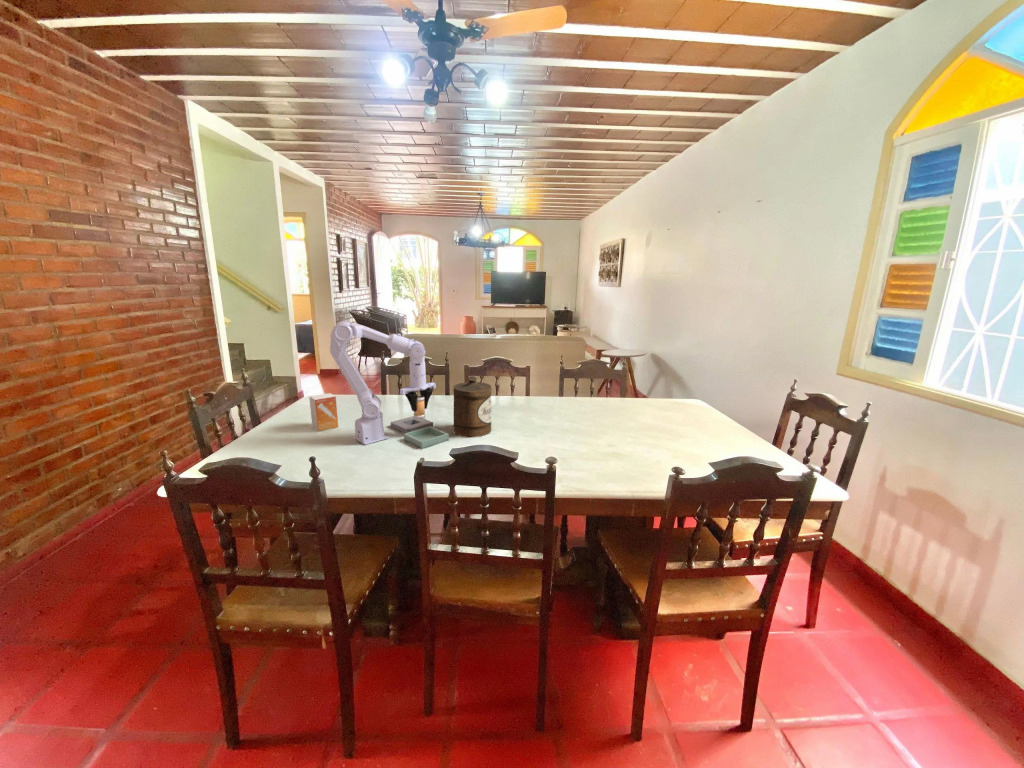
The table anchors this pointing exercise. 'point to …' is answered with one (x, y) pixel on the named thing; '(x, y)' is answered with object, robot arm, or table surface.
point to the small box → (323, 412)
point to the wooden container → (472, 408)
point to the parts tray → (426, 437)
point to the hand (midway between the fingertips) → (419, 409)
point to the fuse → (420, 408)
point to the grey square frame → (406, 426)
